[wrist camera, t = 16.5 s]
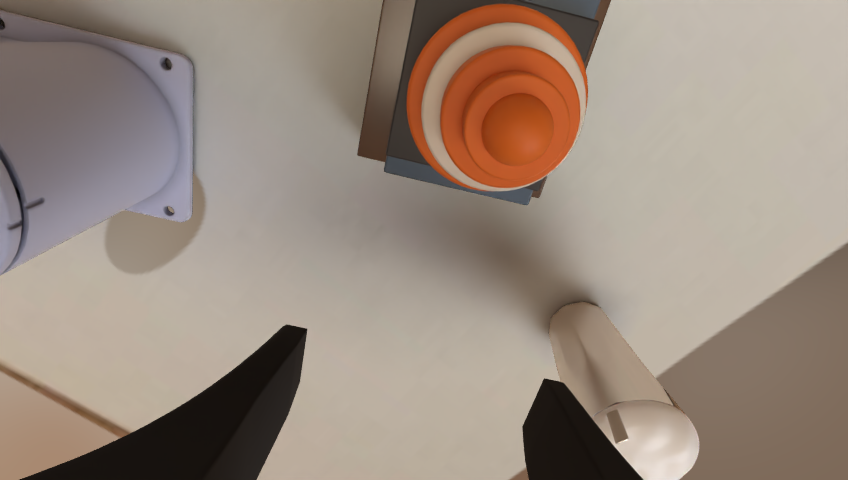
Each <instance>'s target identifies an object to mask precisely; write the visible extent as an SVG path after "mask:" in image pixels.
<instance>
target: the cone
mask: <svg viewBox="0 0 848 480" xmlns="http://www.w3.org/2000/svg"><path fill="white" fill-rule="evenodd" d="M598 25H599V21H598V20H595V19H591V18H587V17H583V16H580V15H576V14H572V13H568V12H564V11H561V10H557V9H553V8H549V7H545V6H542V5H538V4H534V3H530V2H527V1H523V0H415V5H414V11H413V16H412V21H411V26H410V31H409V36H408V41H407V46H406V52H405V57H404V62H403V67H402V72H401V77H400V82H399V87H398V93H397V98H396V103H395V108H394V113H393V118H392V123H391V129H390V134H389V139H388V144H387V149H386V155H387V156H390V157H394V158H398V159H402V160H407V161H411V162H415V163H419V164H424V165H428V166H432V167H433V168H434V169H435V170H436V171H437V172H438V173H439V174H441V175H442V176H443V177H445V178H447V179H448V180H450V181H451V182H454V183H456V184H458V185H460V186H463V187H466V188H469V189H474V190H480V191H510V190H515V189H520V188H525V189H529V190H534V191H539V189H540V186H541V183H542V181H543V178H544V177H545V176H547V175H548V174H550V173H551V172H552V171H553V170H555V169H556V168H557V167H558V166H559V165H560V164H561V163H562V162H563V161H564V159H565V158H566V157H567V156H568V154H569V153H570V152H571V150H572V148H573V147H574V145H575V143H576V141H577V139H578V137H579V134H580V132H581V129H582V126H583V122H584V117H585V113H586V107H587V98H588V85H587V76H586V71H585V66H584V64H585V61H586V58H587V55H588V53H589V50H590V47H591V44H592V41H593V39H594V36H595V33H596V30H597V27H598Z"/></svg>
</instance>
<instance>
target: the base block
mask: <svg viewBox="0 0 848 480" xmlns="http://www.w3.org/2000/svg"><path fill="white" fill-rule="evenodd" d="M610 2H611V0H600V3H599V6H598V9H597V12H596V15H595V17H594V19H595V20H598V21H599V25H598V27H597V30H596V33H595V36H594V39H593V41H592V44H591V47H590V50H589V53H588V55H587V58H586V61H585V64H584V66H585V71H586V68H587V65H588V62H589V60H590V57H591V54H592V51H593V49H594V46H595V43H596V40H597V37H598V35H599V32H600V29H601V26H602V24H603V21H604V18H605V15H606V13H607V10H608V7H609V4H610ZM414 5H415V0H383V4H382V10H381V16H380V22H379V28H378V34H377V40H376V46H375V52H374V58H373V64H372V70H371V76H370V82H369V88H368V94H367V100H366V106H365V112H364V118H363V124H362V130H361V136H360V142H359V148H358V156H361V157H366V158H370V159H374V160H378V161H383V162H386V157H387V155H386V149H387V144H388V139H389V134H390V129H391V123H392V118H393V113H394V108H395V103H396V98H397V93H398V87H399V82H400V77H401V72H402V67H403V62H404V57H405V52H406V46H407V41H408V36H409V31H410V26H411V21H412V16H413V11H414ZM546 178H547V176H545V177H544V178H543V181H542V183H541V186H540V189H539V191H534V190H533V193H532V197H536V198H539V197H540V195H541V192H542V189H543V186H544V184H545V181H546Z"/></svg>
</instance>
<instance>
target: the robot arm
mask: <svg viewBox="0 0 848 480" xmlns="http://www.w3.org/2000/svg"><path fill="white" fill-rule="evenodd" d="M1 19H2V20H3V21H4V23H5V28H4V27H3V26H2V24H1ZM166 58H168V59H169V60H170V61H171V63H172V67H171V69H169V68H167V66H166V65H165V59H166ZM192 180H193V65H192V63H191V61H190V59H189V58H188V57H186V56H185V55H182V54H179V53H175V52H171V51H167V50H163V49H158V48H154V47H150V46H146V45H142V44H138V43H134V42H130V41H126V40H121V39H117V38H113V37H109V36H105V35H101V34H97V33H93V32H89V31H85V30H80V29H76V28H72V27H68V26H64V25H60V24H56V23H52V22H48V21H44V20H39V19H35V18H31V17H27V16H23V15H19V14H15V13H11V12H7V11H3V10H0V275H2V274H4V273H6V272H8V271H10V270H12V269H13V268H15V267H17V266H19V265H21V264H23V263H25V262H27V261H29V260H30V259H32V258H34V257H36V256H38V255H40V254H42V253H44V252H46V251H47V250H49V249H51V248H53V247H55V246H57V245H59V244H61V243H63V242H64V241H66V240H68V239H70V238H72V237H74V236H76V235H78V234H80V233H81V232H83V231H85V230H87V229H89V228H91V227H93V226H95V225H97V224H98V223H100V222H102V221H104V220H106V219H108V218H110V217H112V216H114V215H115V214H117V213H119V212H121V211H123V210H127V211H132V212H136V213H141V214H146V215H150V216H155V217H159V218H164V219H168V220H173V221H177V222H184V221H187V220H188V219H190V218H191V216H192V203H193V202H192V201H193V197H192V196H193V181H192ZM168 206H169V207H171V208H172V209H173V210H174V213H172V212H170V211H169V210H168ZM306 335H307V329H305V328H301V327H296V326H291V325H285V326H283V327H282V328H281V329H280V330H279V331H278V332H277V333H276V334H274V335H273V336H272V337H271V338H270V339H269V340H268V341H267V342H266V343H265V344H263V345H262V346H261V347H260V348H259V349H258V350H257V351H255V352H254V353H253V354H252V355H251V356H249V357H248V358H247V359H246V360H244V361H243V362H242V363H241V364H240V365H238V366H237V367H236V368H235V369H233V370H232V371H231V372H229V373H228V374H227V375H225V376H224V377H222V378H221V379H220V380H218V381H217V382H216V383H214V384H213V385H211V386H210V387H209V388H207V389H206V390H204V391H203V392H201V393H200V394H198V395H197V396H195V397H194V398H192V399H191V400H189V401H187V402H186V403H184V404H183V405H181V406H179V407H178V408H176V409H174V410H173V411H171V412H169V413H167V414H166V415H164V416H162V417H160V418H159V419H157V420H155V421H153V422H151V423H150V424H148V425H146V426H144V427H142V428H140V429H138V430H136V431H134V432H132V433H130V434H128V435H126V436H124V437H122V438H120V439H118V440H116V441H113V442H111V443H109V444H107V445H105V446H103V447H101V448H99V449H96V450H94V451H92V452H90V453H87V454H85V455H82V456H80V457H78V458H75V459H73V460H70V461H67V462H65V463H62V464H60V465H57V466H55V467H52V468H49V469H47V470H44V471H42V472H39V473H36V474H34V475H31V476H28V477H25V478H23V479H20V480H256V479H257V477H258V475H259V473H260V471H261V469H262V467H263V465H264V463H265V461H266V459H267V457H268V455H269V453H270V451H271V449H272V447H273V445H274V443H275V441H276V439H277V436H278V434H279V432H280V430H281V428H282V426H283V424H284V422H285V420H286V418H287V416H288V413H289V411H290V408H291V405H292V402H293V400H294V397H295V394H296V391H297V388H298V385H299V383H300V377H301V370H302V363H303V356H304V349H305V342H306ZM523 442H524V453H525V462H526V467H527V472H528V477H529V480H644V479H643V478H642V477H641V476H640V475H639V474H638V473H637V472H636V471H635V470H634V468H633V467H632V466H631V465H630V464H629V463H628V462H627V460H626V459H625V458H624V457H623V456H622V455H621V454H620V452H619V451H618V450H617V449H616V448H615V446H614V445H613V444H612V443H611V442H610V440H609V439H608V438H607V437H606V435H605V434H604V433H603V432H602V430H601V429H600V428H599V427H598V425H597V424H596V423H595V422H594V420H593V419H592V418H591V416H590V415H589V414H588V413H587V411H586V410H585V409H584V407H583V406H582V405H581V404H580V402H579V401H578V400H577V398H576V397H575V396H574V395H573V393H572V392H571V391H570V390H569V388H568V387H567V386H566V385H565V384H564V383H563V382H559V381H554V380H549V379H544V380H543V382H542V385H541V387H540V389H539V391H538V393H537V396H536V398H535V400H534V402H533V404H532V407H531V409H530V411H529V413H528V416H527V418H526V420H525V422H524V424H523Z"/></svg>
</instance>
